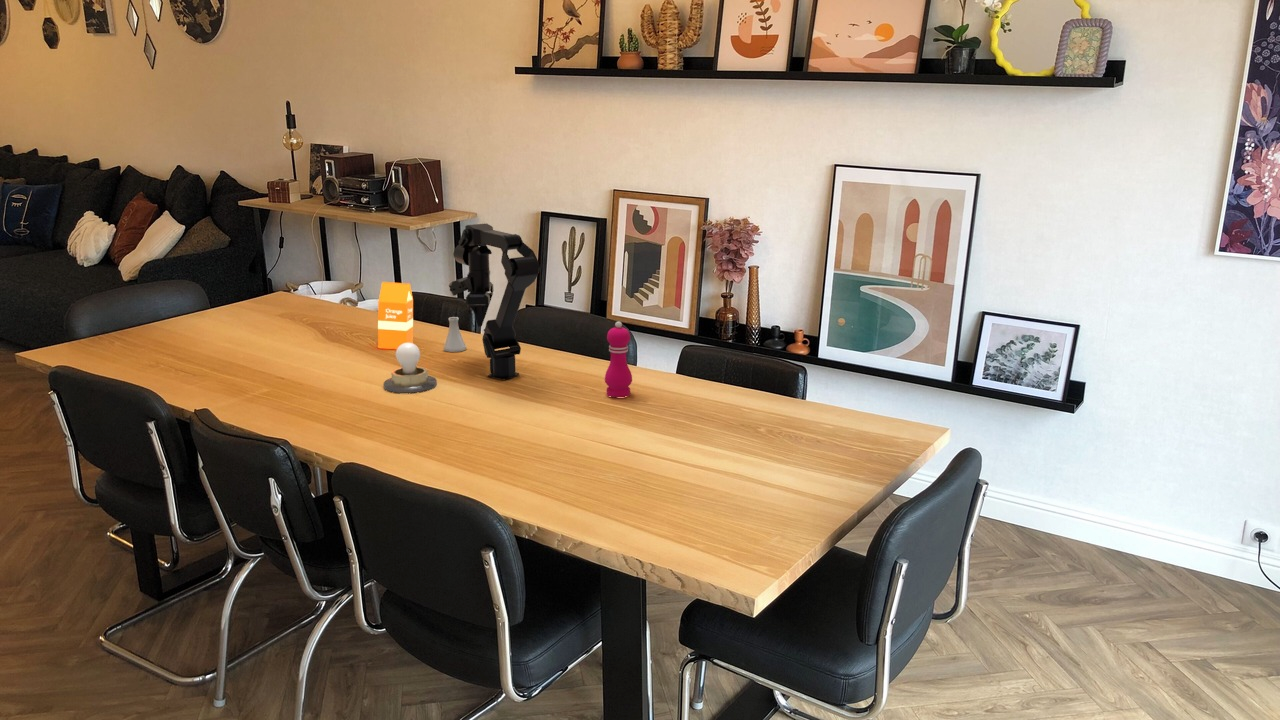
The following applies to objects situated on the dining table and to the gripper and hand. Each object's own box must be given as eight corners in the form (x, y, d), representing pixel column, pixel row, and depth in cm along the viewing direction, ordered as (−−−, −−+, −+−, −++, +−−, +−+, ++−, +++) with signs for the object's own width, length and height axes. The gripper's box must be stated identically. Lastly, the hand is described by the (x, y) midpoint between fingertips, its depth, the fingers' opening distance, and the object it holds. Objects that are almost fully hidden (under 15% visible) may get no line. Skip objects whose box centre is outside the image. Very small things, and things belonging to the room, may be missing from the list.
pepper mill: (608, 400, 243) (608, 325, 238) (602, 391, 250) (601, 318, 244) (635, 398, 245) (635, 323, 239) (628, 389, 252) (628, 317, 246)
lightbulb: (424, 378, 256) (421, 339, 253) (419, 385, 250) (416, 346, 247) (400, 378, 256) (397, 339, 253) (395, 386, 250) (392, 346, 247)
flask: (469, 347, 292) (468, 315, 289) (463, 353, 285) (461, 321, 282) (446, 346, 292) (445, 315, 290) (440, 352, 285) (438, 320, 283)
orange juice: (406, 349, 288) (406, 285, 283) (377, 348, 288) (377, 283, 283) (413, 344, 295) (413, 281, 291) (385, 342, 295) (385, 279, 291)
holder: (447, 383, 256) (446, 369, 255) (411, 396, 244) (410, 382, 243) (409, 375, 263) (408, 361, 262) (372, 388, 251) (371, 373, 250)
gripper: (454, 262, 272) (456, 315, 276) (446, 275, 254) (448, 330, 259) (492, 262, 273) (494, 314, 277) (487, 275, 255) (489, 330, 259)
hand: (481, 322), depth 268 cm, fingers open, 9 cm apart
